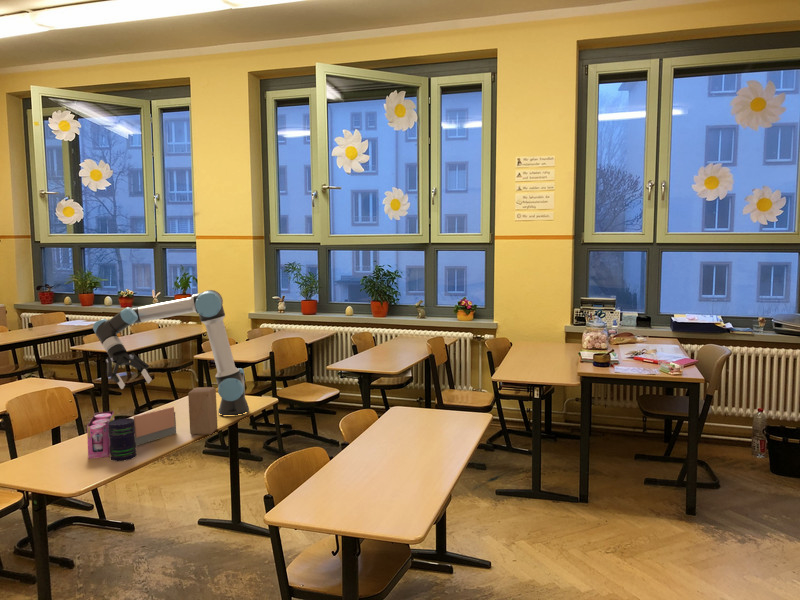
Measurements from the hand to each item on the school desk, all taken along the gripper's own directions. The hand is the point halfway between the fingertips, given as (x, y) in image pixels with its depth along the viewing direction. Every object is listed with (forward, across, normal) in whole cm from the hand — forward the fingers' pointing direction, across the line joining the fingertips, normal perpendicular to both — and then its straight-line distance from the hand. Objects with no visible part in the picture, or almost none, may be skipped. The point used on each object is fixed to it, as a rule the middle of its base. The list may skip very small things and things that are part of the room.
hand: (136, 384), depth 278 cm
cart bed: (+22, 0, -12) cm, 25 cm away
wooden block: (+32, -19, -1) cm, 37 cm away
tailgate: (+22, 0, -6) cm, 23 cm away
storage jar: (+31, +21, -4) cm, 37 cm away
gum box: (+19, +19, -16) cm, 31 cm away
